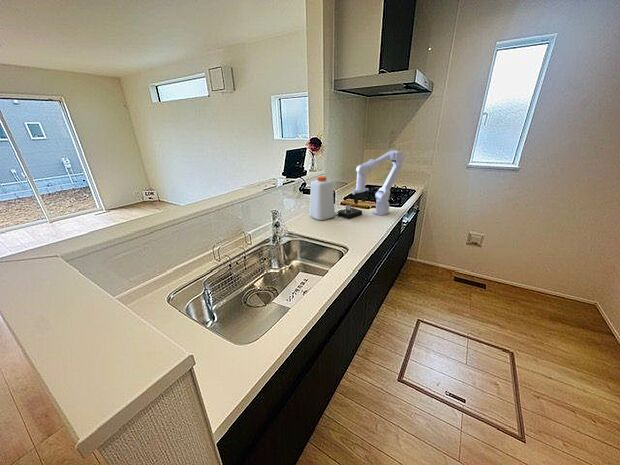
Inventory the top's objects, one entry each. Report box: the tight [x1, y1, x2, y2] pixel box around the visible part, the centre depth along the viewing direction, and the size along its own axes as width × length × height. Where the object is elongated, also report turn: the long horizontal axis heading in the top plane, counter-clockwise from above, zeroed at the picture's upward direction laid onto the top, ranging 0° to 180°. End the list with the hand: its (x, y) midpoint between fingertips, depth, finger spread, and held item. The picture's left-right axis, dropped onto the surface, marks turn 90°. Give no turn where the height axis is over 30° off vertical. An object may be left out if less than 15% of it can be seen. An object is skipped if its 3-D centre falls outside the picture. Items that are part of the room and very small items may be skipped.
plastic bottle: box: [309, 175, 336, 221], centre depth 173 cm, size 15×15×28 cm
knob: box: [344, 204, 352, 212], centre depth 178 cm, size 4×4×4 cm
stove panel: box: [337, 207, 363, 220], centre depth 179 cm, size 14×10×3 cm
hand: (359, 202), depth 175 cm, fingers open, 7 cm apart
